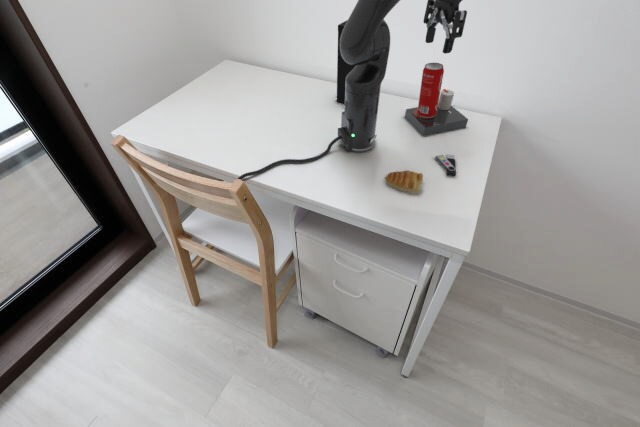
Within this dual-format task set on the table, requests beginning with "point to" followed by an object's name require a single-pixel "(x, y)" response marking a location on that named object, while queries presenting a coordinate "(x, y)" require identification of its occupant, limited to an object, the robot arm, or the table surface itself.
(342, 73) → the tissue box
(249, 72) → the table surface
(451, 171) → the usb flash drive
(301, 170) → the table surface
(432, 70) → the beverage can
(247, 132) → the table surface
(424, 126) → the hob
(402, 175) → the pastry
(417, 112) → the burner
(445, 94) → the hob knob
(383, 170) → the table surface
